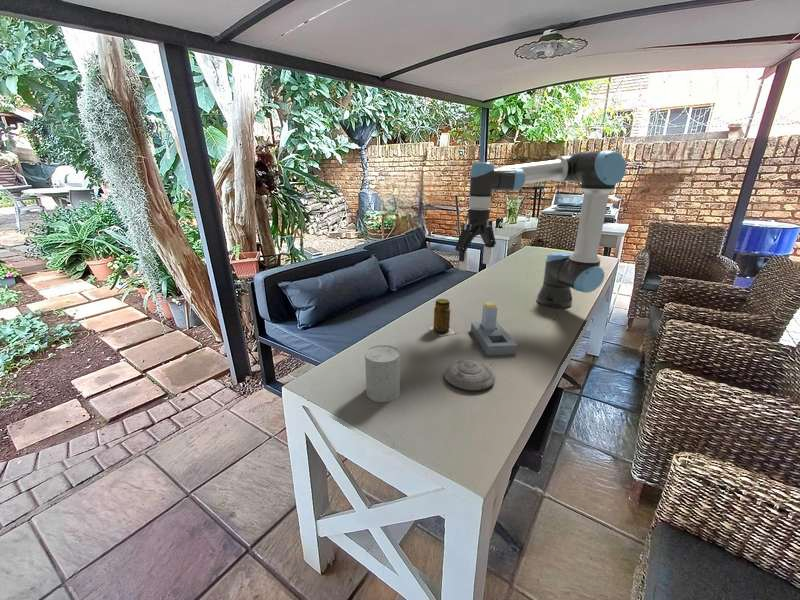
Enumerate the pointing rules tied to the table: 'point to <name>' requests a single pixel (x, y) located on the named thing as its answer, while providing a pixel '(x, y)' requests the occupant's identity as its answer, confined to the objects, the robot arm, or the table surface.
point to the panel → (494, 340)
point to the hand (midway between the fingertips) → (474, 266)
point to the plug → (489, 316)
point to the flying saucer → (469, 375)
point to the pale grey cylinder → (382, 373)
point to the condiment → (442, 318)
